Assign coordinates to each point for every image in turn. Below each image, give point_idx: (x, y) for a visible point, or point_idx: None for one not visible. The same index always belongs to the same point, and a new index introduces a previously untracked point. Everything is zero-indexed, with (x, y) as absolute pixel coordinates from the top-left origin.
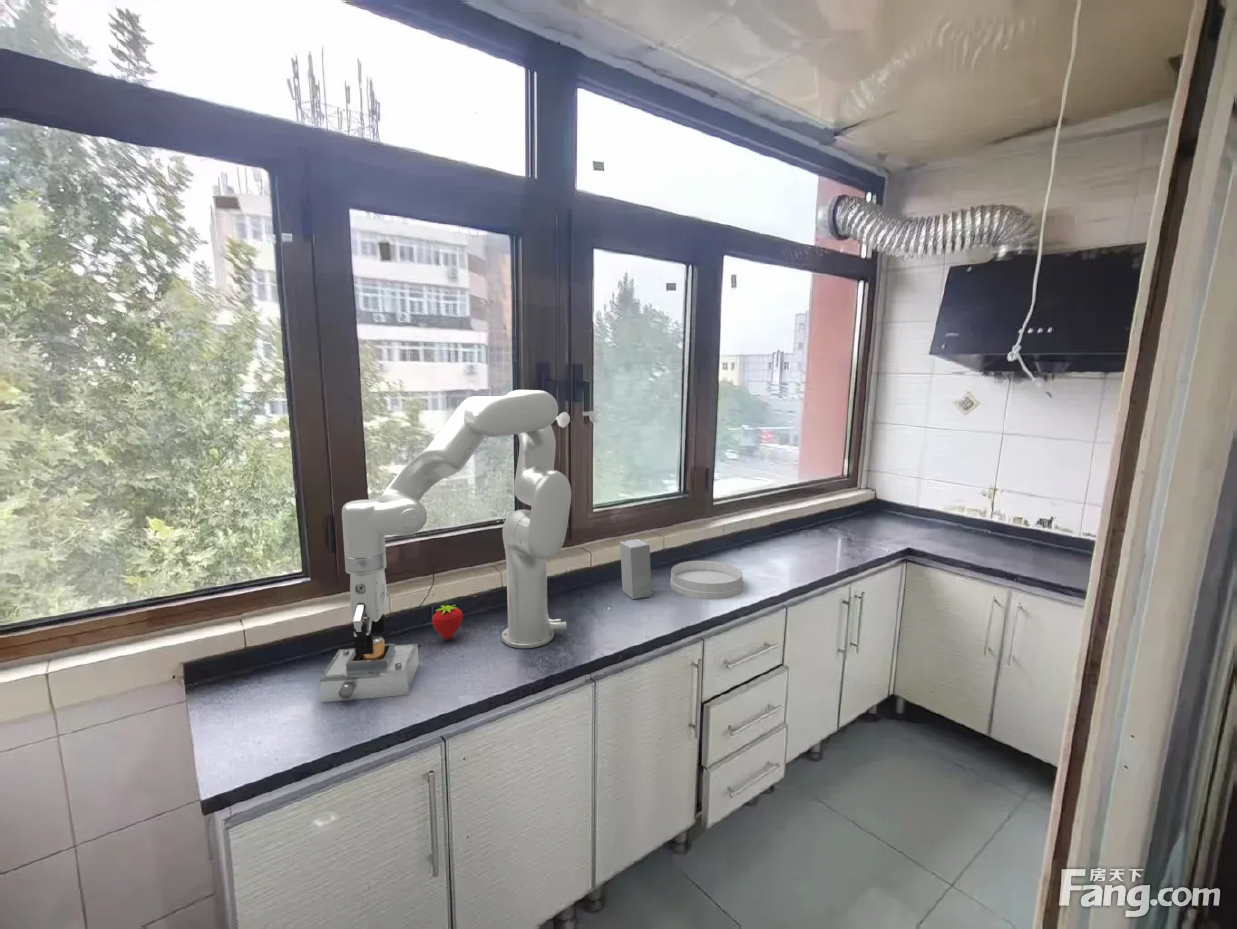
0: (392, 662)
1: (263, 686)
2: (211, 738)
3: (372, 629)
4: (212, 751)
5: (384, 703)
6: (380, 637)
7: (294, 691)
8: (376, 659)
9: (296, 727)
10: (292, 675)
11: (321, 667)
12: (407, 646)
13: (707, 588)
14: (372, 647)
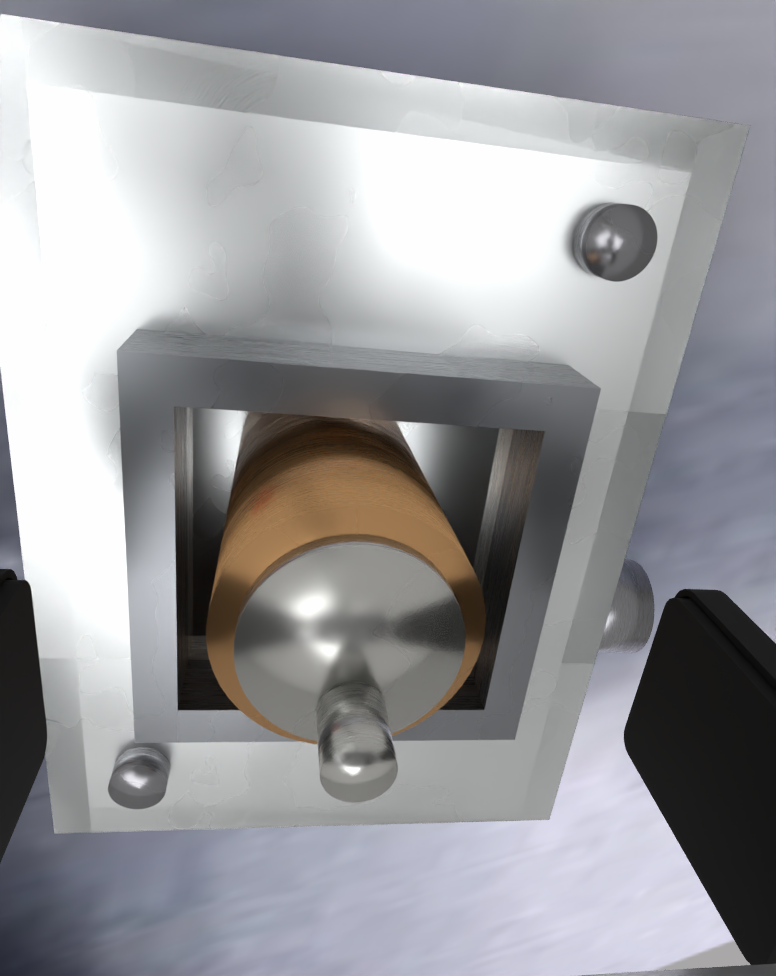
0: (469, 322)
1: (224, 967)
2: (628, 964)
3: (22, 743)
4: (725, 929)
5: None
6: (291, 580)
7: (318, 838)
8: (533, 502)
9: None
10: (117, 900)
11: None
12: (43, 169)
13: None
14: (760, 630)
